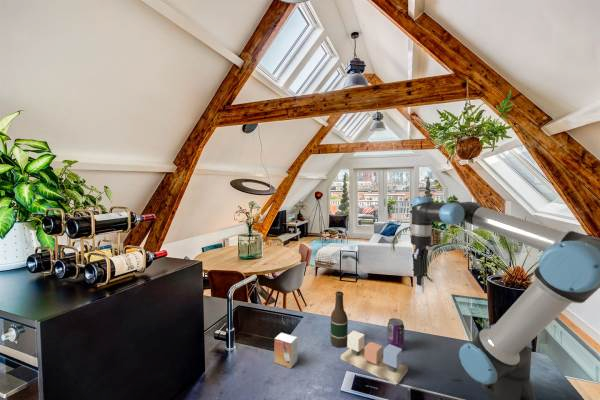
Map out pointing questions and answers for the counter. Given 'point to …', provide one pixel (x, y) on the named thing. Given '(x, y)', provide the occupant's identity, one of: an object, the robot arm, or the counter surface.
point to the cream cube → (355, 341)
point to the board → (375, 366)
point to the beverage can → (395, 333)
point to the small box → (285, 350)
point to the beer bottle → (339, 323)
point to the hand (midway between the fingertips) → (419, 291)
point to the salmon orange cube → (373, 352)
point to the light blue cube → (392, 356)
